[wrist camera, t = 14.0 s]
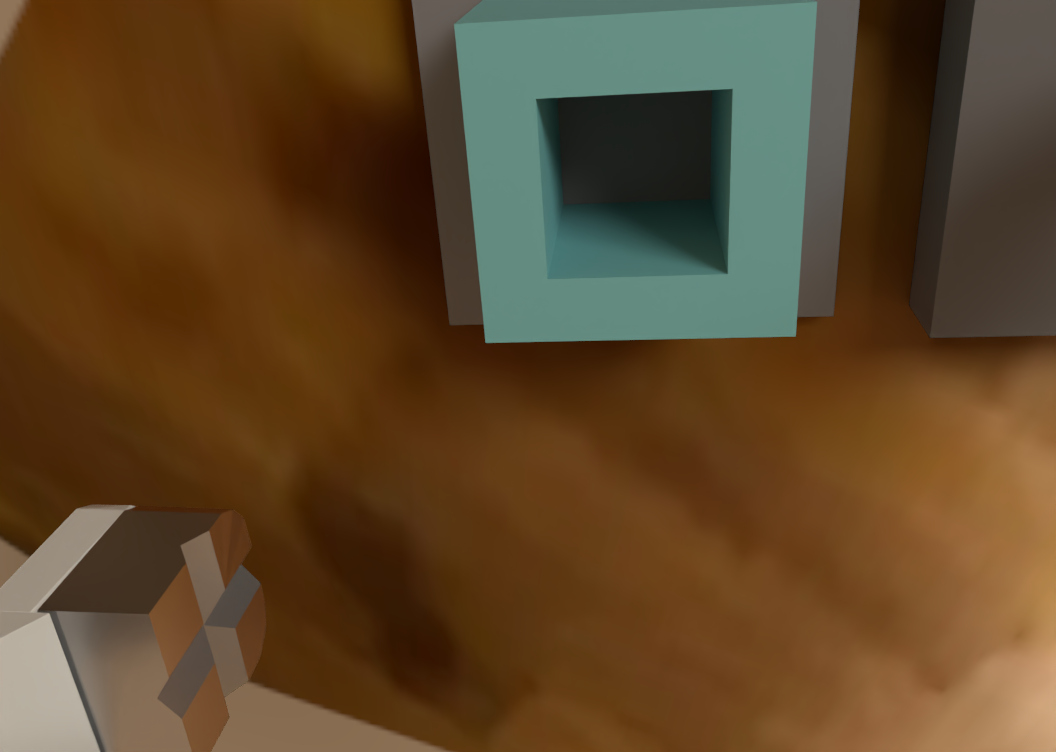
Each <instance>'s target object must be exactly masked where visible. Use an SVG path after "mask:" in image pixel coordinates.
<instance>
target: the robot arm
mask: <svg viewBox="0 0 1056 752" xmlns="http://www.w3.org/2000/svg"><path fill="white" fill-rule="evenodd" d="M251 547H252V545H251V542H250V538H249V535H248V531H247V528H246V524H245V521H244V518H243V517H242V516H241V515H239V514H238V513H237V512H235V511H234V510H233V509H213V508H187V507H161V506H137V507H135V506H131V505H89V506H86V507H82V508H78V509H76V510H75V511H74V512H73V513H72V514H71V515H70V516H69V517H68V518H67V519H66V520H65V521H64V522H63V523H62V525H61V526H60V527H59V528H58V529H57V530H56V531H55V532H54V533H53V534H52V535H51V536H50V537H49V538H48V539H47V540H46V541H45V542H44V543H43V544H42V545H41V546H40V547H39V548H38V549H37V550H36V551H35V553H34V554H33V555H32V556H31V557H30V558H29V559H28V560H27V561H26V562H25V563H24V564H23V565H22V566H21V567H20V568H19V569H18V570H17V571H16V572H15V573H14V575H12V576H11V577H10V578H9V580H8V581H7V582H6V583H5V584H4V585H3V586H2V587H1V588H0V752H211V751H212V749H213V747H214V745H215V743H216V741H217V739H218V737H219V736H220V734H221V732H222V730H223V728H224V726H225V725H226V723H227V721H228V719H229V713H228V710H227V706H226V702H225V698H224V697H226V696H227V695H229V694H230V693H231V692H233V691H234V690H236V689H237V688H239V687H240V686H242V685H243V684H245V683H246V682H248V681H249V679H250V677H251V675H252V673H253V671H254V669H255V667H256V665H257V663H258V661H259V659H260V656H261V651H262V646H263V641H264V636H265V632H266V605H265V600H264V596H263V591H262V587H261V583H260V582H259V581H258V580H257V579H256V578H255V577H254V576H253V575H252V574H250V573H249V572H248V571H247V570H246V569H245V568H244V567H243V566H242V565H241V564H242V562H243V560H244V559H245V557H246V555H247V554H248V552H249V550H250V548H251Z"/></svg>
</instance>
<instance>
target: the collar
mask: <svg viewBox="0 0 1056 752" xmlns="http://www.w3.org/2000/svg"><path fill="white" fill-rule="evenodd" d="M816 13H817V1H815V0H482V1H481V2H480V3H479V4H477V5H476V6H475V7H474V8H473V9H471V10H470V11H469V12H468V13H467V14H466V15H464V16H463V17H462V18H461V19H460V20H458V21H457V22H456V23H455V24H454V29H455V39H456V49H457V59H458V69H459V79H460V89H461V99H462V110H463V120H464V130H465V140H466V150H467V160H468V170H469V180H470V190H471V201H472V211H473V221H474V231H475V241H476V251H477V261H478V271H479V281H480V292H481V302H482V312H483V322H484V332H485V342H486V343H507V342H555V341H602V340H650V339H698V338H746V337H794V336H796V326H797V311H798V295H799V279H800V264H801V248H802V233H803V217H804V201H805V186H806V170H807V154H808V139H809V123H810V107H811V92H812V76H813V60H814V45H815V29H816ZM700 90H712V124H711V181H710V199H697V200H671V201H644V202H618V203H591V204H565V205H563V187H562V169H561V150H560V132H559V113H558V98H563V97H582V96H602V95H622V94H641V93H661V92H681V91H700Z"/></svg>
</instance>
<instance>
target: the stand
mask: <svg viewBox="0 0 1056 752" xmlns="http://www.w3.org/2000/svg"><path fill="white" fill-rule="evenodd" d="M909 306H910V307H911V309H912V311H913V312H914V314H915V315H916V317H917V318H918V320H919V322H920V323H921V325H922V326H923V328H924V329H925V331H926V333H927V334H928V336H929V337H930V338H952V337H1001V336H1050V335H1056V0H946V3H945V12H944V20H943V28H942V36H941V45H940V53H939V61H938V69H937V78H936V86H935V94H934V102H933V111H932V119H931V127H930V135H929V144H928V152H927V160H926V168H925V177H924V185H923V193H922V201H921V210H920V218H919V226H918V235H917V243H916V251H915V259H914V268H913V276H912V284H911V292H910V301H909Z"/></svg>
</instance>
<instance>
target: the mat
mask: <svg viewBox="0 0 1056 752" xmlns="http://www.w3.org/2000/svg"><path fill="white" fill-rule="evenodd" d="M481 1H482V0H412V7H413V16H414V25H415V33H416V42H417V50H418V59H419V67H420V76H421V84H422V93H423V102H424V110H425V119H426V127H427V136H428V144H429V153H430V162H431V170H432V179H433V187H434V196H435V204H436V213H437V222H438V230H439V239H440V247H441V256H442V264H443V273H444V281H445V290H446V299H447V307H448V316H449V324H450V325H481V324H484V322H483V312H482V302H481V292H480V281H479V271H478V261H477V251H476V241H475V231H474V221H473V211H472V201H471V190H470V180H469V170H468V160H467V150H466V140H465V130H464V120H463V110H462V99H461V89H460V79H459V69H458V59H457V49H456V39H455V29H454V24H455V23H456V22H457V21H458V20H460V19H461V18H462V17H463V16H464V15H466V14H467V13H468V12H469V11H470V10H471V9H473V8H474V7H475V6H476V5H477V4H479V3H480V2H481ZM815 1H817V13H816V29H815V45H814V60H813V76H812V92H811V107H810V123H809V139H808V154H807V170H806V186H805V201H804V217H803V233H802V248H801V264H800V279H799V295H798V311H797V317H825V316H834V306H835V294H836V282H837V270H838V258H839V246H840V233H841V221H842V209H843V197H844V185H845V173H846V161H847V149H848V137H849V125H850V113H851V101H852V89H853V76H854V64H855V52H856V40H857V28H858V16H859V4H860V0H815ZM558 113H559V132H560V150H561V169H562V187H563V205H565V204H591V203H618V202H644V201H671V200H697V199H710V181H711V124H712V90H700V91H681V92H661V93H641V94H622V95H602V96H582V97H563V98H558Z"/></svg>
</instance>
